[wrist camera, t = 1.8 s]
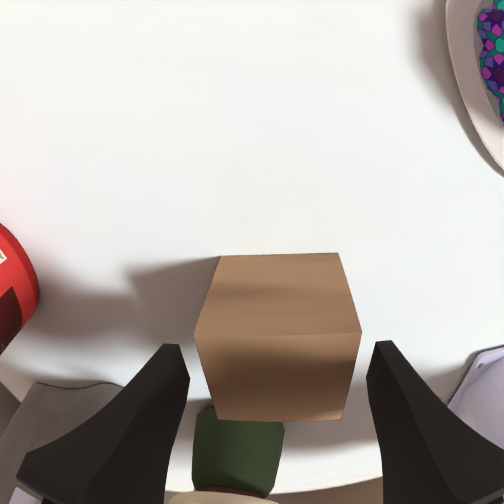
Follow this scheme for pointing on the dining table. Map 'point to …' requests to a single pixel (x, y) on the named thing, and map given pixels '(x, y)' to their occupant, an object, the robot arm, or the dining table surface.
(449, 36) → the pudding
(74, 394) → the flask
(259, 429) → the character mug
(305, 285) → the walnut block
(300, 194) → the dining table surface
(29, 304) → the canned food
